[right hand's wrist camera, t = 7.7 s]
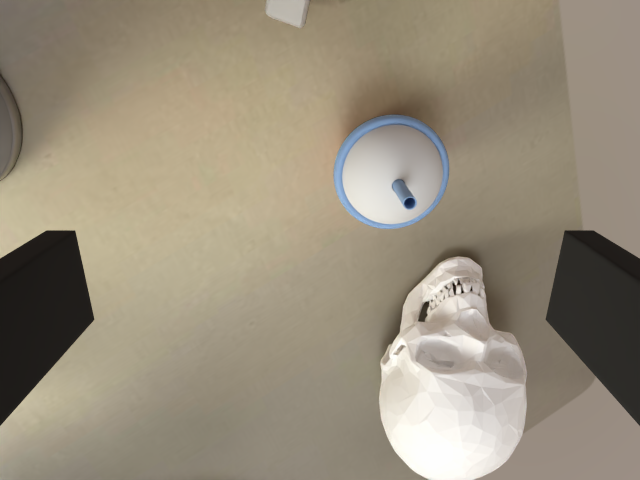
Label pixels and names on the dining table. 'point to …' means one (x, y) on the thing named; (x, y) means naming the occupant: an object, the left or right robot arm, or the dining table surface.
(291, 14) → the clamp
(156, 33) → the dining table surface
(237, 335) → the dining table surface
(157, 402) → the dining table surface
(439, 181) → the cup with straw
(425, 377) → the skull
